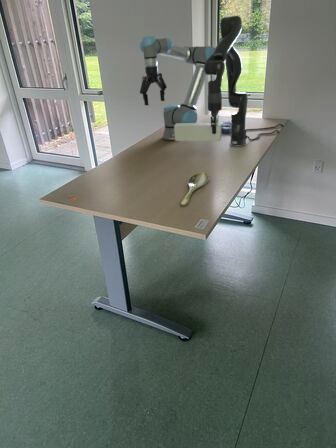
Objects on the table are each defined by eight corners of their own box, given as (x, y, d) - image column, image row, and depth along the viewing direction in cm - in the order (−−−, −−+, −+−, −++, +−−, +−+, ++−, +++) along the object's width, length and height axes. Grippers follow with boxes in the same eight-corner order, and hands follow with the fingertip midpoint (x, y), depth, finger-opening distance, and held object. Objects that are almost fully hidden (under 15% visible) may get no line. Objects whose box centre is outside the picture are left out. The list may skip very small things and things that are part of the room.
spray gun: (242, 125, 260) (223, 125, 266) (242, 120, 258) (223, 120, 264) (234, 134, 245) (215, 133, 251) (234, 128, 242) (214, 128, 249)
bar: (175, 141, 196) (174, 125, 191) (177, 138, 200) (176, 123, 195) (220, 141, 189) (220, 125, 184) (221, 138, 193) (221, 122, 188)
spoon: (193, 209, 156) (193, 205, 155) (172, 207, 159) (171, 203, 158) (212, 175, 182) (212, 172, 181) (193, 174, 186) (193, 170, 184)
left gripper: (139, 69, 190) (143, 107, 201) (170, 63, 204) (173, 99, 215) (131, 68, 195) (135, 106, 206) (162, 63, 209) (165, 98, 220)
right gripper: (219, 103, 174) (219, 136, 183) (223, 98, 185) (223, 128, 194) (205, 104, 176) (206, 136, 185) (209, 98, 187) (210, 128, 196)
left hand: (154, 103), depth 210 cm, fingers open, 13 cm apart
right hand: (214, 131), depth 189 cm, fingers closed on bar, 5 cm apart
